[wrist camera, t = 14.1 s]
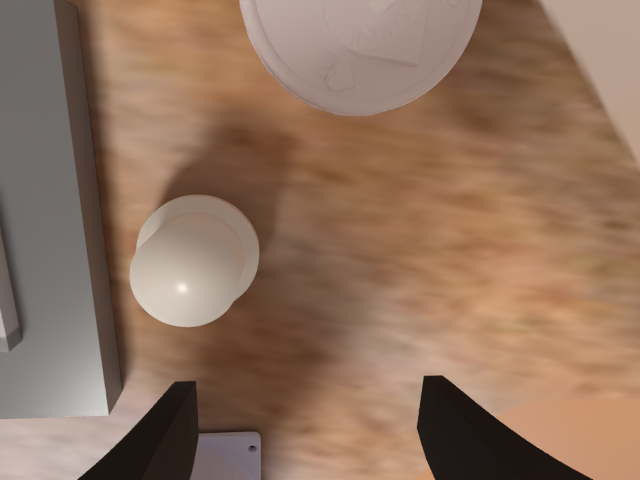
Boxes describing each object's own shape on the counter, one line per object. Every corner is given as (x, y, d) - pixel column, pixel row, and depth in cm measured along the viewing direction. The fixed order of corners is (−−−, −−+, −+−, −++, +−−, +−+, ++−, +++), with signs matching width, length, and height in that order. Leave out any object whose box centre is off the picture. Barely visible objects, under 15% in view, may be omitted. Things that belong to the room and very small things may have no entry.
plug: (260, 294, 23) (256, 340, 18) (153, 294, 22) (118, 342, 17) (260, 191, 21) (255, 212, 16) (144, 188, 20) (103, 209, 16)
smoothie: (310, 143, 20) (372, 192, 7) (226, 29, 19) (96, -191, 5) (414, 62, 20) (693, -50, 6) (338, -64, 18) (509, -584, 5)
